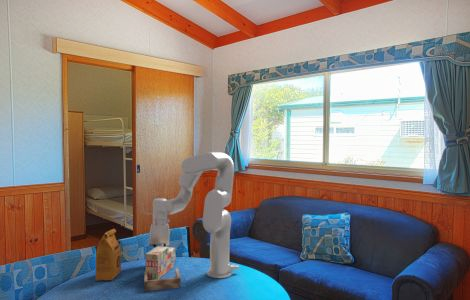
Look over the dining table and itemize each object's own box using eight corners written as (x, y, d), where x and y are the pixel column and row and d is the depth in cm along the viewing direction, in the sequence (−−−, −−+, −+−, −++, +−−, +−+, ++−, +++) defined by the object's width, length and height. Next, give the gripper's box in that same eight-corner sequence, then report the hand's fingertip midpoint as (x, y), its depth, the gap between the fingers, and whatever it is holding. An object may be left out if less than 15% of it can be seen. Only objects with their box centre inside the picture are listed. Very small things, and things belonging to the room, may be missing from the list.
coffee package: (124, 272, 165) (125, 228, 165) (112, 282, 152) (113, 234, 152) (105, 271, 166) (105, 227, 166) (91, 281, 153) (92, 233, 153)
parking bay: (177, 276, 160) (177, 268, 160) (180, 287, 148) (180, 278, 148) (144, 279, 156) (144, 271, 156) (144, 290, 144) (144, 281, 144)
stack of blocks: (164, 264, 177) (165, 241, 177) (175, 265, 176) (176, 242, 176) (145, 279, 157) (145, 253, 157) (157, 280, 155) (157, 254, 155)
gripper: (173, 219, 183) (173, 253, 183) (145, 220, 179) (144, 255, 179) (174, 222, 176) (174, 257, 176) (145, 224, 172) (144, 259, 172)
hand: (159, 256), depth 178 cm, fingers closed
